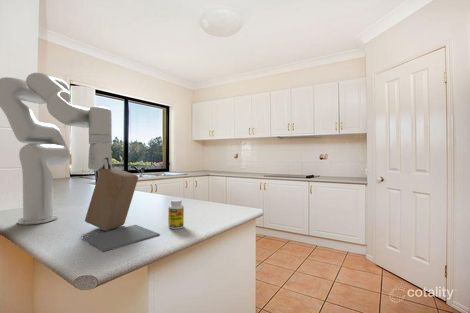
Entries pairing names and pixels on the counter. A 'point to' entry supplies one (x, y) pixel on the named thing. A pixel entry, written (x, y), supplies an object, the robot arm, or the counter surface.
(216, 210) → the counter surface
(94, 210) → the block
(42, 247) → the counter surface
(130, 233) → the mat
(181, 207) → the supplement bottle
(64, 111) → the robot arm
